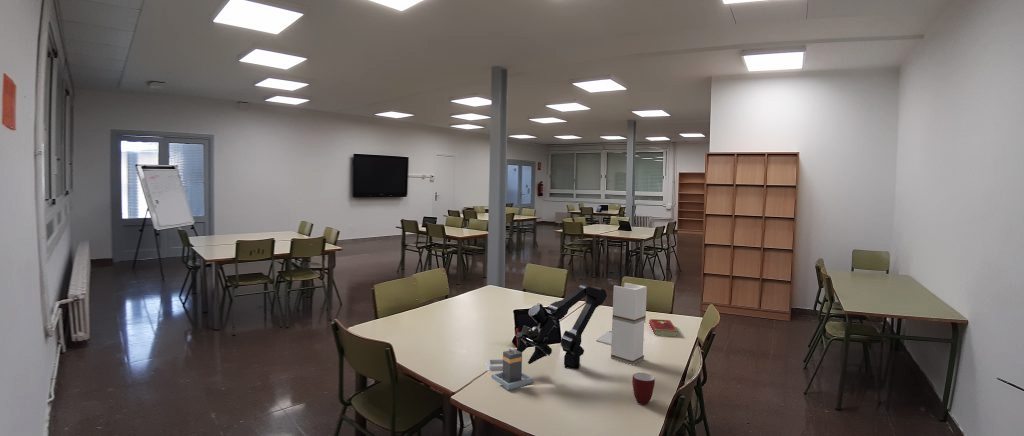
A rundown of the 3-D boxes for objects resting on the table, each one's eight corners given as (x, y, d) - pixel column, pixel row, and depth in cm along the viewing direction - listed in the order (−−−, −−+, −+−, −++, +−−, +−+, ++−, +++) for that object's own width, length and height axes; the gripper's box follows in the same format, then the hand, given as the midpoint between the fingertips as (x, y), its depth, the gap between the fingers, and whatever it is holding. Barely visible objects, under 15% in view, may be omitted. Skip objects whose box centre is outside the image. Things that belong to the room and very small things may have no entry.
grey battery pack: (514, 377, 198) (515, 345, 197) (521, 381, 194) (522, 349, 193) (502, 380, 195) (503, 348, 194) (509, 384, 191) (510, 352, 190)
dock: (511, 363, 215) (511, 358, 215) (514, 372, 205) (514, 366, 205) (484, 364, 213) (485, 358, 213) (486, 372, 203) (486, 367, 203)
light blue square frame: (515, 374, 203) (515, 368, 203) (532, 384, 193) (532, 378, 193) (491, 380, 196) (491, 374, 196) (508, 390, 186) (508, 384, 186)
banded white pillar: (643, 359, 224) (646, 286, 222) (632, 365, 216) (635, 289, 214) (622, 353, 232) (625, 282, 230) (610, 358, 224) (613, 285, 222)
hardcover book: (654, 336, 262) (654, 328, 261) (648, 325, 282) (649, 318, 282) (677, 337, 260) (677, 330, 260) (669, 326, 281) (670, 319, 280)
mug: (635, 393, 187) (636, 368, 186) (656, 398, 183) (657, 372, 182) (629, 404, 177) (630, 378, 177) (651, 409, 174) (652, 382, 173)
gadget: (620, 349, 239) (620, 342, 239) (595, 342, 249) (595, 335, 249) (643, 340, 255) (643, 333, 255) (618, 333, 266) (619, 326, 265)
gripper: (519, 313, 206) (498, 342, 201) (547, 324, 191) (524, 356, 185) (533, 328, 211) (513, 357, 206) (561, 339, 196) (539, 371, 191)
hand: (521, 360), depth 197 cm, fingers open, 9 cm apart
